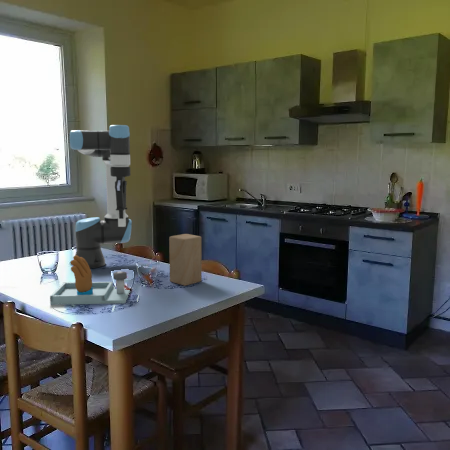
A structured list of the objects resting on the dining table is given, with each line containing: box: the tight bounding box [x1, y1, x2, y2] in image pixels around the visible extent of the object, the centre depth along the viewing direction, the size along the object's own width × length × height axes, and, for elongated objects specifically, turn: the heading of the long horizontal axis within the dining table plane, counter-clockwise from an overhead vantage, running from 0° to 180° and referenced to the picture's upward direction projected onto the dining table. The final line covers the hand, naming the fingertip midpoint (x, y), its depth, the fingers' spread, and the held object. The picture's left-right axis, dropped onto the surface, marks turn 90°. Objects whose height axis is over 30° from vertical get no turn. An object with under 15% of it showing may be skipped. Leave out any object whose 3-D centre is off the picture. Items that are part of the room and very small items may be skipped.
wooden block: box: [168, 233, 203, 286], centre depth 195 cm, size 10×10×20 cm
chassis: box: [49, 279, 131, 306], centre depth 175 cm, size 18×27×7 cm, turn 94°
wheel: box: [113, 271, 128, 281], centre depth 175 cm, size 5×5×2 cm
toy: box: [70, 255, 93, 295], centre depth 174 cm, size 12×7×15 cm, turn 169°
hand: (122, 226), depth 178 cm, fingers closed
